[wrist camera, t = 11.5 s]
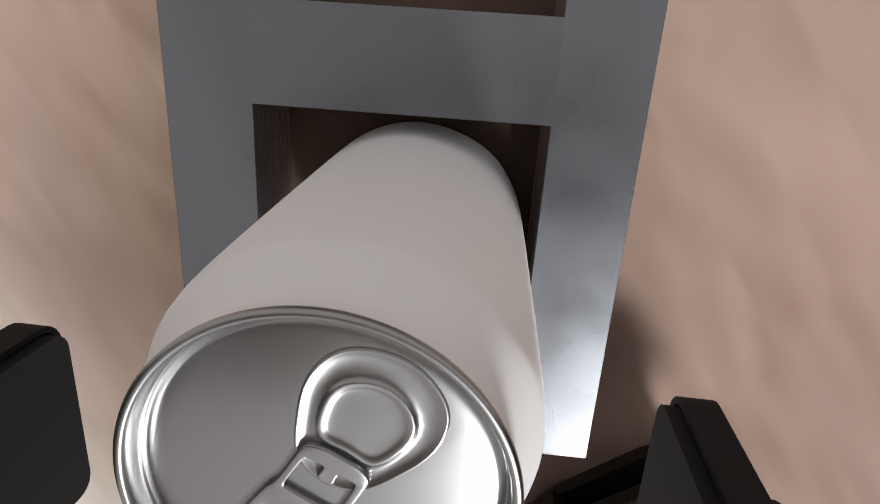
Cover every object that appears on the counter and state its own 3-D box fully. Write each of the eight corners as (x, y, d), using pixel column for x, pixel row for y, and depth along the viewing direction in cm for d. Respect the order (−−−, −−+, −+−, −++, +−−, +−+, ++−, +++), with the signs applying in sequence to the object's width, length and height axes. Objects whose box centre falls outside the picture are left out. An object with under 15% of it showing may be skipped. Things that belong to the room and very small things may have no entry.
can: (563, 195, 19) (665, 457, 8) (447, 347, 21) (393, 724, 10) (383, 74, 18) (198, 167, 7) (282, 245, 20) (16, 531, 9)
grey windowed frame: (715, -457, 13) (773, -582, 11) (573, 400, 21) (585, 458, 18) (178, -468, 14) (98, -589, 11) (235, 365, 22) (197, 416, 19)
